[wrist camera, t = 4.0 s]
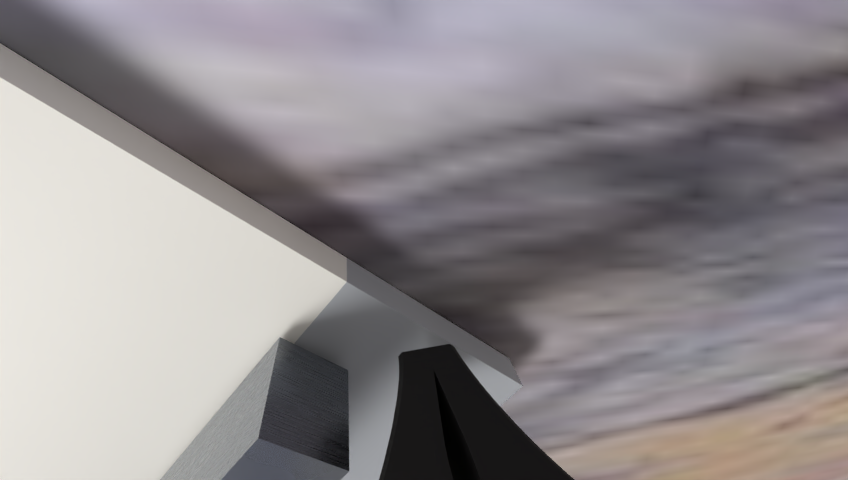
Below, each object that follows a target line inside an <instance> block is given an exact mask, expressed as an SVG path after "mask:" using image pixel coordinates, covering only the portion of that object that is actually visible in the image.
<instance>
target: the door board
mask: <svg viewBox="0 0 848 480" xmlns="http://www.w3.org/2000/svg"><path fill="white" fill-rule="evenodd" d="M279 337H281V338H283V339H285V340H287V341H289V342H291V343H293V344H295V345H297V346H299V347H302V348H304V349H306V350H308V351H310V352H312V353H314V354H316V355H318V356H320V357H322V358H324V359H326V360H328V361H330V362H332V363H335V364H337V365H339V366H341V367H343V368H345V369H347V370H348V392H349V472H348V473H347V474H346V475H345V476H344V477H343V478H342V479H341V480H379V478H380V474H381V470H382V467H383V463H384V459H385V455H386V450H387V446H388V442H389V438H390V434H391V429H392V424H393V418H394V412H395V406H396V401H397V393H398V383H399V359H398V356H399V355H400V354H401V353H402V352H405V351H411V350H417V349H422V348H428V347H434V346H440V345H445V344H451V345H453V346H454V347H455V348H456V350H457V352H458V353H459V355H460V356H461V358H462V359H463V361H464V362H465V363H466V365H467V366H468V368H469V369H470V370H471V372H472V373H473V374H474V376H475V377H476V378H477V379H478V381H479V382H480V383H481V384H482V386H483V387H484V388H485V389H486V391H487V392H488V393H489V394H490V395H491V397H492V398H493V399H494V400H495V401H496V402H497V403H498V405H499V406H501V405H502V404H503V403H504V402H505V401H507V400H508V399H509V398H510V397H511V396H512V395H513V394H514V393H515V392H516V391H518V390H519V389H520V388H521V387H522V386H523V385H522V383H521V381H520V379H519V377H518V375H517V373H516V371H515V369H514V367H513V365H512V363H511V361H510V359H509V358H508V357H506V356H505V355H503V354H501V353H500V352H498V351H496V350H495V349H493V348H492V347H490V346H488V345H487V344H485V343H484V342H482V341H480V340H479V339H477V338H475V337H474V336H472V335H471V334H469V333H467V332H466V331H464V330H463V329H461V328H459V327H458V326H456V325H454V324H453V323H451V322H450V321H448V320H446V319H445V318H443V317H442V316H440V315H438V314H437V313H435V312H433V311H432V310H430V309H429V308H427V307H425V306H424V305H422V304H421V303H419V302H417V301H416V300H414V299H412V298H411V297H409V296H408V295H406V294H404V293H403V292H401V291H400V290H398V289H396V288H395V287H393V286H391V285H390V284H388V283H387V282H385V281H383V280H382V279H380V278H379V277H377V276H375V275H374V274H372V273H370V272H369V271H367V270H366V269H364V268H362V267H361V266H359V265H358V264H356V263H354V262H353V261H351V260H349V259H348V258H346V257H345V256H343V255H341V254H340V253H338V252H337V251H335V250H333V249H332V248H330V247H328V246H327V245H325V244H324V243H322V242H320V241H319V240H317V239H316V238H314V237H312V236H311V235H309V234H307V233H306V232H304V231H303V230H301V229H299V228H298V227H296V226H295V225H293V224H291V223H290V222H288V221H286V220H285V219H283V218H282V217H280V216H278V215H277V214H275V213H274V212H272V211H270V210H269V209H267V208H265V207H264V206H262V205H261V204H259V203H257V202H256V201H254V200H253V199H251V198H249V197H248V196H246V195H244V194H243V193H241V192H240V191H238V190H236V189H235V188H233V187H232V186H230V185H228V184H227V183H225V182H223V181H222V180H220V179H219V178H217V177H215V176H214V175H212V174H211V173H209V172H207V171H206V170H204V169H202V168H201V167H199V166H198V165H196V164H194V163H193V162H191V161H190V160H188V159H186V158H185V157H183V156H181V155H180V154H178V153H177V152H175V151H173V150H172V149H170V148H169V147H167V146H165V145H164V144H162V143H160V142H159V141H157V140H156V139H154V138H152V137H151V136H149V135H148V134H146V133H144V132H143V131H141V130H139V129H138V128H136V127H135V126H133V125H131V124H130V123H128V122H127V121H125V120H123V119H122V118H120V117H118V116H117V115H115V114H114V113H112V112H110V111H109V110H107V109H106V108H104V107H102V106H101V105H99V104H97V103H96V102H94V101H93V100H91V99H89V98H88V97H86V96H85V95H83V94H81V93H80V92H78V91H77V90H75V89H73V88H72V87H70V86H68V85H67V84H65V83H64V82H62V81H60V80H59V79H57V78H56V77H54V76H52V75H51V74H49V73H47V72H46V71H44V70H43V69H41V68H39V67H38V66H36V65H35V64H33V63H31V62H30V61H28V60H26V59H25V58H23V57H22V56H20V55H18V54H17V53H15V52H14V51H12V50H10V49H9V48H7V47H5V46H4V45H2V44H1V43H0V480H160V479H161V478H162V477H163V476H164V475H165V473H166V472H167V471H168V470H169V469H170V467H171V466H172V465H173V464H174V463H175V461H176V460H177V459H178V458H179V457H180V455H181V454H182V453H183V452H184V451H185V449H186V448H187V447H188V446H189V445H190V444H191V442H192V441H193V440H194V439H195V438H196V436H197V435H198V434H199V433H200V432H201V430H202V429H203V428H204V427H205V426H206V424H207V423H208V422H209V421H210V420H211V418H212V417H213V416H214V415H215V414H216V412H217V411H218V410H219V409H220V408H221V407H222V405H223V404H224V403H225V402H226V401H227V399H228V398H229V397H230V396H231V395H232V393H233V392H234V391H235V390H236V389H237V387H238V386H239V385H240V384H241V383H242V381H243V380H244V379H245V378H246V377H247V375H248V374H249V373H250V372H251V371H252V370H253V368H254V367H255V366H256V365H257V364H258V362H259V361H260V360H261V359H262V358H263V356H264V355H265V354H266V353H267V352H268V350H269V349H270V348H271V347H272V346H273V344H274V343H275V342H276V341H277V340H278V338H279Z"/></svg>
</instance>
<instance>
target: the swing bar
mask: <svg viewBox="0 0 848 480" xmlns="http://www.w3.org/2000/svg"><path fill="white" fill-rule="evenodd" d="M348 472H349V392H348V370H347V369H345V368H343V367H341V366H339V365H337V364H335V363H332V362H330V361H328V360H326V359H324V358H322V357H320V356H318V355H316V354H314V353H312V352H310V351H308V350H306V349H304V348H302V347H299V346H297V345H295V344H293V343H291V342H289V341H287V340H285V339H283V338H281V337H279V338H278V340H277V341H276V342H275V343H274V344H273V346H272V347H271V348H270V349H269V350H268V352H267V353H266V354H265V355H264V356H263V358H262V359H261V360H260V361H259V362H258V364H257V365H256V366H255V367H254V368H253V370H252V371H251V372H250V373H249V374H248V375H247V377H246V378H245V379H244V380H243V381H242V383H241V384H240V385H239V386H238V387H237V389H236V390H235V391H234V392H233V393H232V395H231V396H230V397H229V398H228V399H227V401H226V402H225V403H224V404H223V405H222V407H221V408H220V409H219V410H218V411H217V412H216V414H215V415H214V416H213V417H212V418H211V420H210V421H209V422H208V423H207V424H206V426H205V427H204V428H203V429H202V430H201V432H200V433H199V434H198V435H197V436H196V438H195V439H194V440H193V441H192V442H191V444H190V445H189V446H188V447H187V448H186V449H185V451H184V452H183V453H182V454H181V455H180V457H179V458H178V459H177V460H176V461H175V463H174V464H173V465H172V466H171V467H170V469H169V470H168V471H167V472H166V473H165V475H164V476H163V477H162V478H161V479H160V480H341V479H342V478H343V477H344V476H345V475H346V474H347V473H348Z"/></svg>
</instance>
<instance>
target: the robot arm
mask: <svg viewBox="0 0 848 480" xmlns="http://www.w3.org/2000/svg"><path fill="white" fill-rule="evenodd" d="M398 359H399V383H398V393H397V401H396V406H395V412H394V418H393V424H392V429H391V434H390V438H389V442H388V446H387V450H386V455H385V459H384V463H383V467H382V470H381V474H380V478H379V480H574V479H573V478H572V477H571V476H570V475H568V474H567V473H566V472H565V471H564V470H563V469H562V468H561V467H560V466H558V465H557V464H556V463H555V462H554V461H553V460H552V459H551V458H550V457H549V456H547V455H546V454H545V453H544V452H543V451H542V450H541V449H540V448H539V447H538V446H537V445H536V444H535V443H534V442H533V441H532V440H531V439H530V438H529V437H528V436H527V435H526V434H525V433H524V432H523V431H522V430H521V429H520V428H519V427H518V426H517V425H516V424H515V422H514V421H513V420H512V419H511V418H510V417H509V416H508V415H507V414H506V413H505V412H504V410H503V409H502V408H501V407H500V406H499V405H498V403H497V402H496V401H495V400H494V399H493V398H492V397H491V395H490V394H489V393H488V392H487V391H486V389H485V388H484V387H483V386H482V384H481V383H480V382H479V381H478V379H477V378H476V377H475V376H474V374H473V373H472V372H471V370H470V369H469V368H468V366H467V365H466V363H465V362H464V361H463V359H462V358H461V356H460V355H459V353H458V352H457V350H456V348H455V347H454V346H453V345H451V344H445V345H440V346H434V347H428V348H422V349H417V350H411V351H405V352H402V353H401V354H400V355H399V356H398Z"/></svg>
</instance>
